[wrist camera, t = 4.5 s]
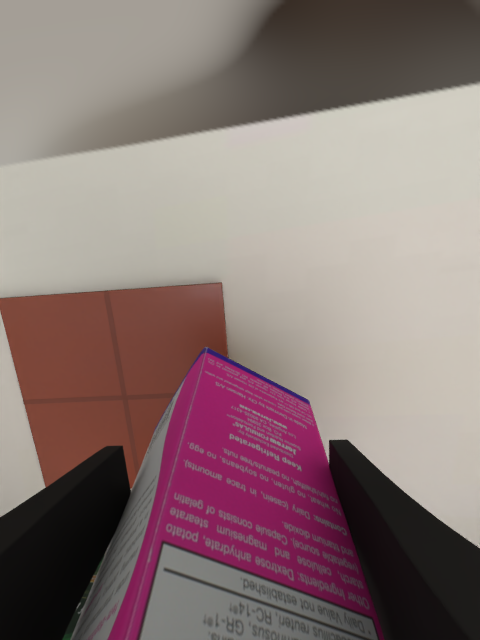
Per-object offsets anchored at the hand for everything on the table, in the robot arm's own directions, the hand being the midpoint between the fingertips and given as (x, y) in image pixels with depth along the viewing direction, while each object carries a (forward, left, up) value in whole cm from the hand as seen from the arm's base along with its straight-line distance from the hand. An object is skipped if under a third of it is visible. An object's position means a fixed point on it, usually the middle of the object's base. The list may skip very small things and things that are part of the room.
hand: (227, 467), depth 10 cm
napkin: (-2, +9, -10) cm, 14 cm away
